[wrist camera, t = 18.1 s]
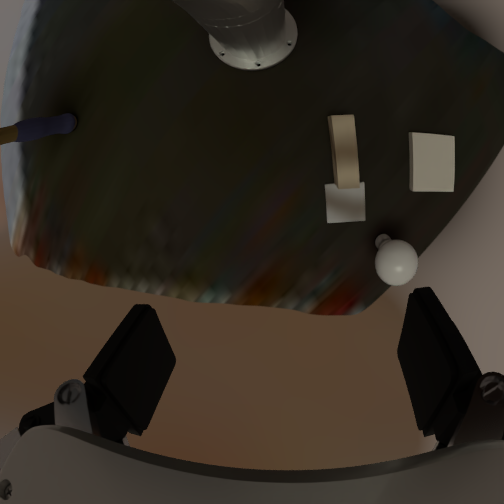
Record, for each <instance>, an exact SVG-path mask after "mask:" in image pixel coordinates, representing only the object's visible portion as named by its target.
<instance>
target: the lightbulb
mask: <svg viewBox="0 0 504 504" xmlns="http://www.w3.org/2000/svg"><path fill="white" fill-rule="evenodd" d="M375 245H376V247H377V248H378V252H377V254H376V258H375V268H376V271H377V274H378V275H379V277H380V278H381V279H382V280H383V281H384V282H385V283H387V284H389V285H394V286H399V285H403V284H405V283H407V282H409V281H410V280H411V279H412V278H413V277H414V275H415V273H416V271H417V268H418V257H417V254H416V251H415V250H414V248H413V247H412V246H411V245H410V244H409V243H407V242H405V241H403V240H391V239H390V237H389V236H388V235H386V234H381V235H379V236H378V237H377V238H376V240H375Z"/></svg>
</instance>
